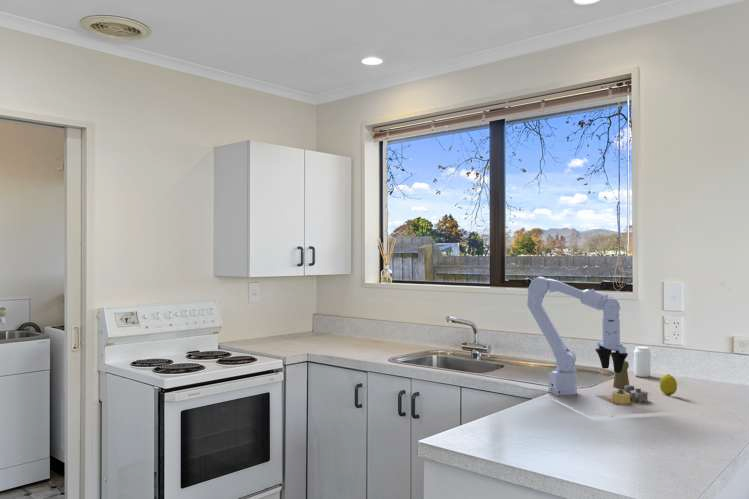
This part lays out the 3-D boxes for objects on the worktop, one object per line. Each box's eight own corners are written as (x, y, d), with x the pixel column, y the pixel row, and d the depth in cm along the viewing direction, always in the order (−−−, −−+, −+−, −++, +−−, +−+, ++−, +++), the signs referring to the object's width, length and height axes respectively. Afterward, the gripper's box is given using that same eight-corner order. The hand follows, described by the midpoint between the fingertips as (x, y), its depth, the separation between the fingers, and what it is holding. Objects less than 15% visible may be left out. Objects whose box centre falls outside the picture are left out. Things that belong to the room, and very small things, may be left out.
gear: (618, 404, 199) (618, 395, 199) (609, 400, 205) (609, 391, 205) (633, 403, 200) (633, 394, 200) (623, 399, 206) (623, 390, 206)
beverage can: (633, 374, 251) (633, 345, 251) (649, 375, 249) (649, 346, 249) (635, 377, 245) (634, 348, 245) (651, 378, 243) (651, 348, 243)
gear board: (616, 408, 198) (616, 393, 198) (595, 398, 211) (595, 384, 211) (653, 405, 201) (653, 390, 201) (629, 396, 214) (629, 382, 214)
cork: (632, 391, 221) (632, 361, 221) (616, 391, 221) (616, 361, 221) (626, 387, 227) (626, 358, 227) (610, 387, 227) (610, 358, 227)
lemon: (673, 394, 216) (673, 372, 216) (679, 398, 210) (679, 375, 210) (657, 394, 216) (657, 372, 216) (663, 398, 211) (663, 375, 211)
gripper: (633, 334, 205) (634, 373, 205) (609, 328, 219) (610, 365, 219) (615, 335, 204) (615, 374, 204) (592, 329, 218) (592, 366, 218)
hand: (611, 370), depth 211 cm, fingers open, 7 cm apart
